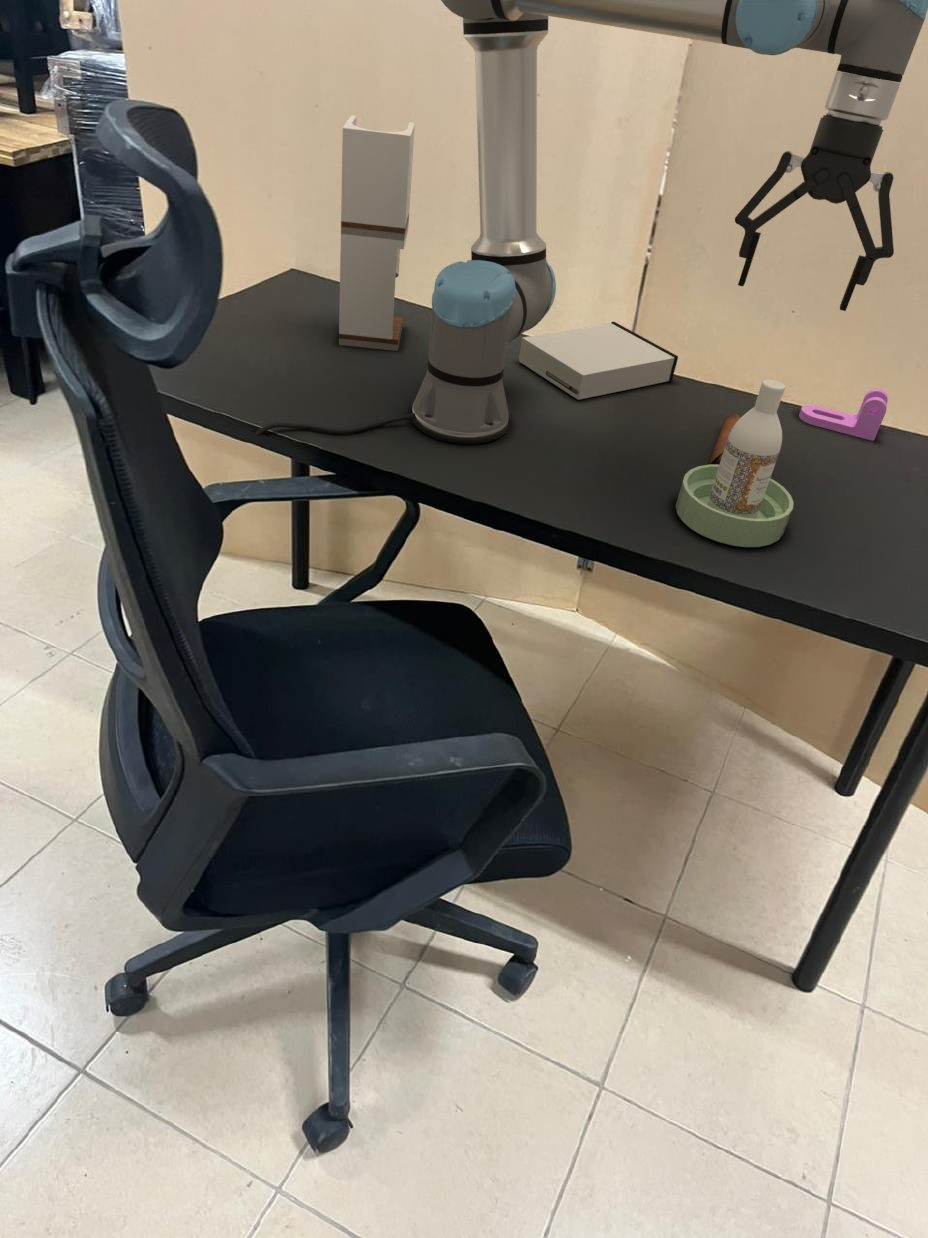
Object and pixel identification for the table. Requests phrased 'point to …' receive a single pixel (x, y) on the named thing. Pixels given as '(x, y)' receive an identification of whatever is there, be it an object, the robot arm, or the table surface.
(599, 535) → the table surface
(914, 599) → the table surface
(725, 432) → the sunglasses case
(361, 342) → the tall white banded column
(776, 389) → the bath foam
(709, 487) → the dish
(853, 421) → the bracket
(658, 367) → the disc drive
